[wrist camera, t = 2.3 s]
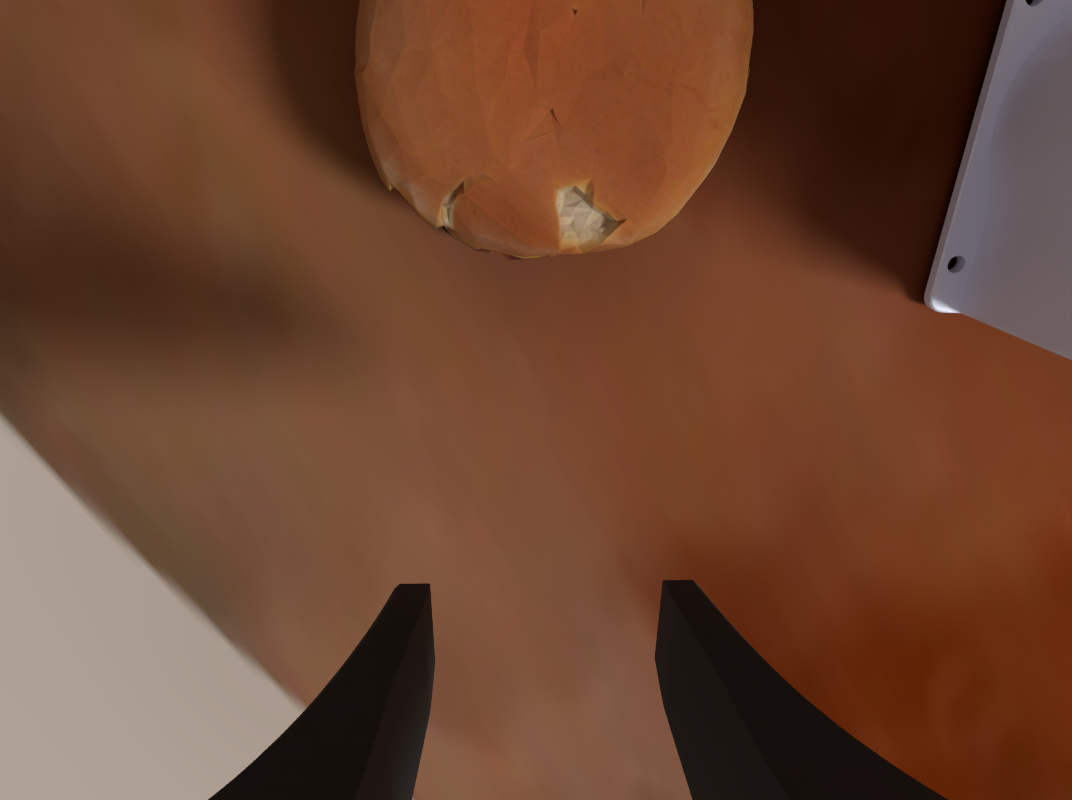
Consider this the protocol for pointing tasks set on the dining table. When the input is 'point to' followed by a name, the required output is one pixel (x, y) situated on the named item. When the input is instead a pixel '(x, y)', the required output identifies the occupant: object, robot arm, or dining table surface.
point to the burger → (549, 113)
